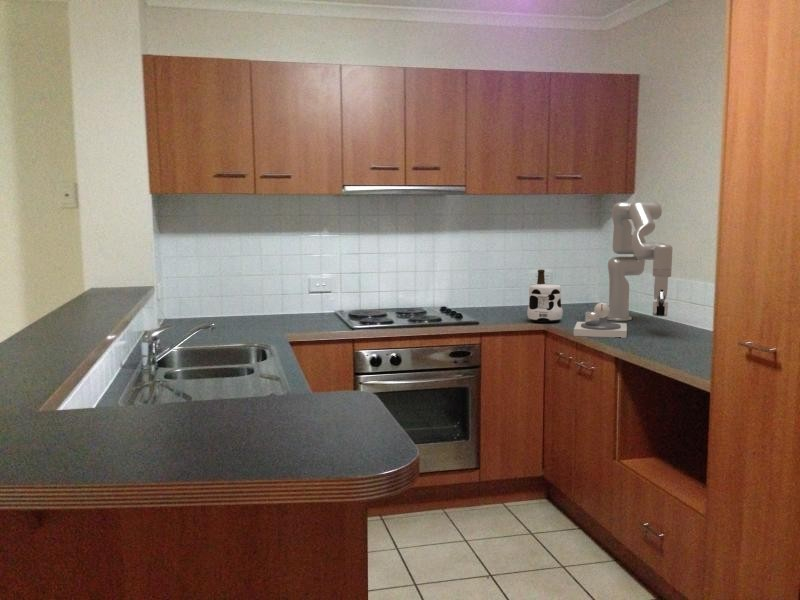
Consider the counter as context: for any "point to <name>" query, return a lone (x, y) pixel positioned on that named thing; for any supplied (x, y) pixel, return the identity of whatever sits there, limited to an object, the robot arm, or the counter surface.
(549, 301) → the milk container
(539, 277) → the beer bottle
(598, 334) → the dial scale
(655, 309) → the cylinder
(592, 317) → the cylinder
